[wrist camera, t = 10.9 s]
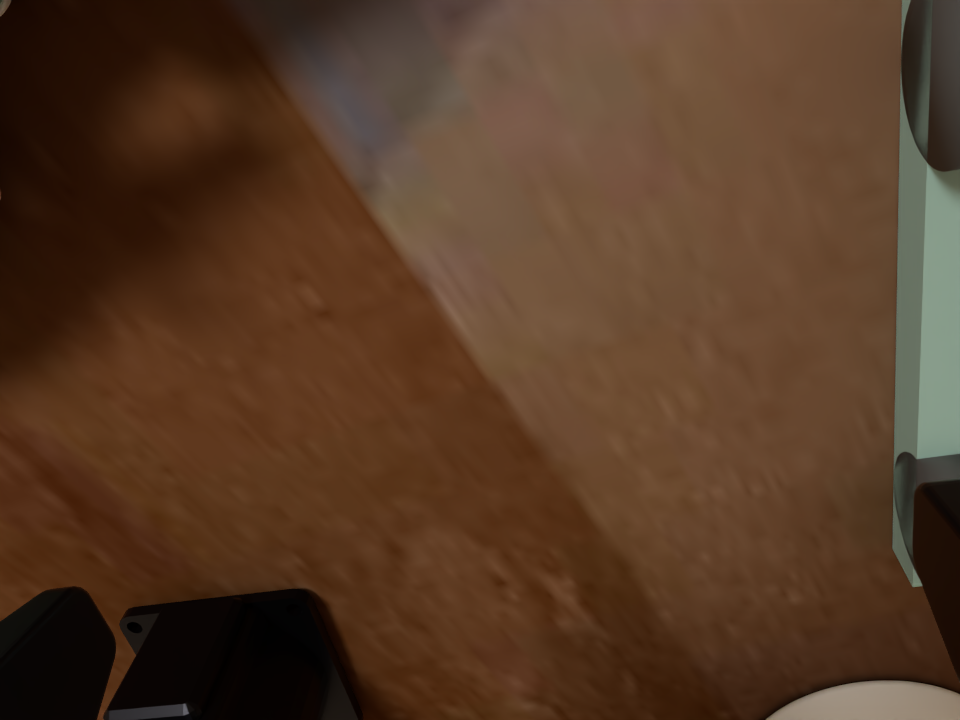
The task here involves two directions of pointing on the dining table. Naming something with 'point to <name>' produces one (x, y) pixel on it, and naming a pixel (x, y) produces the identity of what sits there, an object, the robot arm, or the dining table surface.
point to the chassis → (927, 262)
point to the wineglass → (875, 703)
